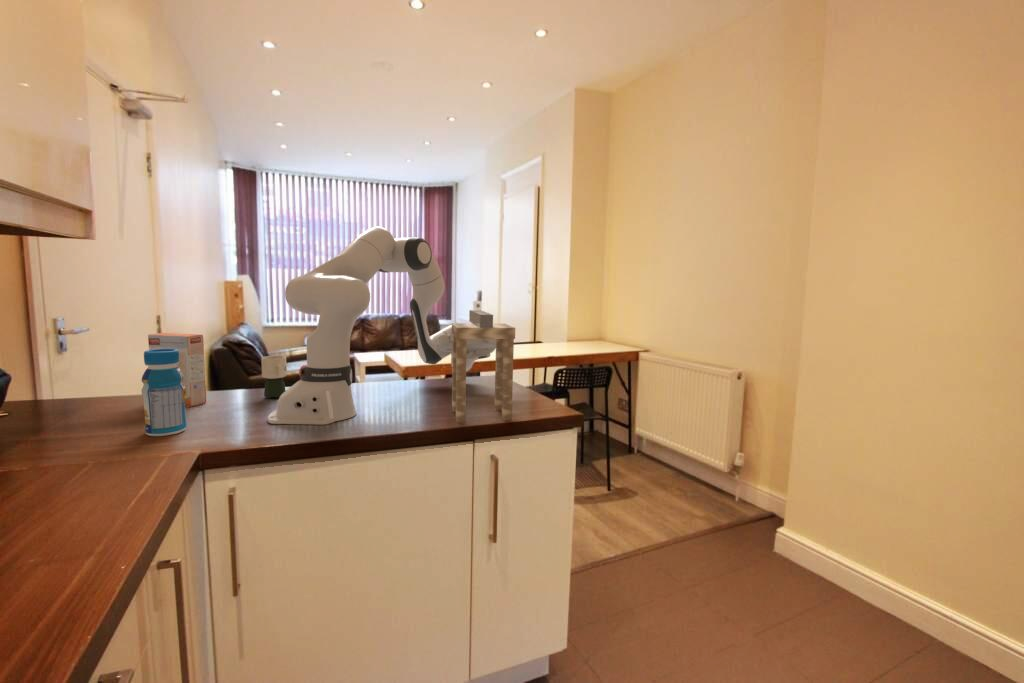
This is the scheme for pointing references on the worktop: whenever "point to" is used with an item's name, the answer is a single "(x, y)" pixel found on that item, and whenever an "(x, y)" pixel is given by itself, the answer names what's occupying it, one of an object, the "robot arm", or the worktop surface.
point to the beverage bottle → (163, 393)
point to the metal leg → (481, 318)
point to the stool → (502, 368)
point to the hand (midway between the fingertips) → (470, 333)
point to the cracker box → (186, 362)
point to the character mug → (274, 375)
